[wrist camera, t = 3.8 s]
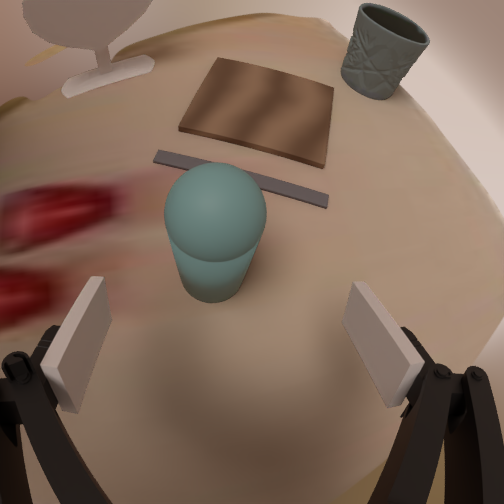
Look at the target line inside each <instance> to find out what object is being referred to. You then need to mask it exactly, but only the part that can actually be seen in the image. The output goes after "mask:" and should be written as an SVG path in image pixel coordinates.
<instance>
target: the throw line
mask: <svg viewBox="0 0 504 504" xmlns="http://www.w3.org/2000/svg"><path fill="white" fill-rule="evenodd" d="M153 163H158V164H162V165H167V166H171V167H175V168H180V169H184V170H190V169H192V168H194V167H196V166H199V165H202V164H206V163H215V162H211V161H206V160H202V159H198V158H194V157H190V156H185V155H181V154H176V153H172V152H167V151H163V150H158V152H157V154H156V156H155V158H154V160H153ZM241 170H242V169H241ZM243 171H245V172H246V173H247V174H249V175H250V176H251V177H252V178H253V179H254V181H255V182H256V183H257V184H258V186H259V188H260V189H261V190H265V191H268V192H272V193H275V194H279V195H282V196H286V197H289V198H293V199H296V200H299V201H303V202H306V203H309V204H313V205H316V206H319V207H322V208H325V209H326V208H327V205H328V197H329V195H327V194H324V193H321V192H318V191H315V190H312V189H308V188H305V187H302V186H298V185H295V184H292V183H288V182H285V181H281V180H278V179H275V178H271V177H267V176H264V175H260V174H257V173H253V172H249V171H246V170H243Z"/></svg>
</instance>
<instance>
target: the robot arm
mask: <svg viewBox="0 0 504 504" xmlns="http://www.w3.org/2000/svg"><path fill="white" fill-rule="evenodd" d="M111 321H112V318H111V313H110V307H109V302H108V296H107V290H106V284H105V278H104V277H98V276H91V277H90V279H89V280H88V282H87V283H86V285H85V287H84V288H83V290H82V291H81V293H80V295H79V296H78V298H77V300H76V301H75V303H74V305H73V306H72V308H71V310H70V311H69V313H68V315H67V316H66V318H65V320H64V322H63V323H62V325H61V326H56V325H53V326H51V327H50V328H49V329H48V330H47V331H45V333H44V335H43V336H42V338H41V341H40V342H39V343H38V346H37V347H36V348H35V350H34V352H33V354H32V356H31V357H29V356H28V354H26V353H24V352H20V351H17V352H12V353H11V354H9V355H7V356H6V357H5V358H4V359H3V362H2V370H3V372H4V374H5V376H6V377H7V378H1V379H0V504H33V502H32V498H31V494H30V489H29V485H28V480H27V474H26V469H25V463H24V456H23V449H22V442H21V433H20V424H23V425H24V427H25V430H26V433H27V435H28V438H29V440H30V442H31V445H32V447H33V450H34V452H35V454H36V456H37V459H38V461H39V463H40V465H41V467H42V469H43V471H44V473H45V475H46V477H47V479H48V481H49V483H50V485H51V487H52V489H53V491H54V493H55V494H56V496H57V498H58V500H59V502H60V503H61V504H112V502H111V501H110V500H109V498H108V497H107V495H106V494H105V493H104V491H103V490H102V488H101V487H100V485H99V484H98V482H97V481H96V479H95V478H94V476H93V475H92V473H91V472H90V470H89V469H88V467H87V466H86V464H85V462H84V461H83V459H82V457H81V456H80V454H79V452H78V451H77V449H76V447H75V445H74V444H73V442H72V440H71V438H70V436H69V435H68V433H67V431H66V429H65V427H64V425H63V423H62V421H61V419H60V417H59V415H58V413H57V412H56V410H55V409H56V407H57V404H58V403H59V405H60V407H61V409H62V411H66V412H71V413H77V414H78V413H79V410H80V407H81V404H82V400H83V397H84V394H85V391H86V388H87V385H88V383H89V380H90V377H91V374H92V371H93V368H94V366H95V363H96V360H97V357H98V355H99V352H100V349H101V347H102V344H103V341H104V339H105V336H106V334H107V331H108V329H109V326H110V324H111ZM342 324H343V325H344V327H345V329H346V331H347V333H348V335H349V336H350V338H351V340H352V342H353V344H354V346H355V348H356V349H357V351H358V353H359V355H360V357H361V359H362V361H363V363H364V364H365V366H366V368H367V370H368V372H369V374H370V376H371V378H372V380H373V382H374V384H375V386H376V387H377V389H378V391H379V393H380V395H381V397H382V399H383V401H384V403H385V405H386V407H387V408H390V407H394V406H399V405H401V404H402V402H403V401H404V399H405V397H407V399H408V401H409V404H408V405H407V407H406V408H405V410H404V412H403V413H402V415H401V416H400V417H401V418H402V417H403V419H402V422H401V425H400V427H399V430H398V433H397V436H396V439H395V441H394V444H393V447H392V449H391V452H390V454H389V457H388V459H387V462H386V464H385V466H384V469H383V471H382V473H381V476H380V478H379V480H378V482H377V485H376V487H375V489H374V491H373V493H372V496H371V497H370V500H369V502H368V503H367V504H426V502H427V499H428V496H429V493H430V489H431V486H432V483H433V479H434V476H435V472H436V468H437V464H438V460H439V456H440V452H441V448H442V444H443V439H444V451H445V499H444V500H445V501H444V504H504V444H503V439H502V434H501V428H500V423H499V419H498V414H497V410H496V405H495V402H494V397H493V394H492V390H491V386H490V383H489V379H488V376H487V374H486V372H485V371H484V370H483V369H481V368H479V367H476V366H470V367H468V368H467V370H466V371H465V373H464V374H455V373H452V371H451V370H450V369H449V368H448V367H447V366H445V365H443V364H435V362H434V361H433V360H432V358H431V357H430V356H429V354H428V353H427V352H426V350H425V349H424V347H423V346H421V343H420V342H419V341H417V338H416V337H415V335H414V334H413V333H412V332H411V331H410V330H408V329H407V328H405V327H399V326H398V324H397V323H396V321H395V320H394V319H393V317H392V316H391V315H390V313H389V312H388V311H387V310H386V308H385V307H384V306H383V304H382V303H381V302H380V300H379V299H378V298H377V296H376V295H375V294H374V293H373V291H372V290H371V289H370V287H369V286H368V285H367V284H366V282H352V286H351V290H350V294H349V298H348V302H347V305H346V309H345V313H344V316H343V320H342Z"/></svg>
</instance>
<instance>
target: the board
mask: <svg viewBox="0 0 504 504" xmlns="http://www.w3.org/2000/svg"><path fill="white" fill-rule="evenodd" d="M333 91H334V88H333V87H330V86H327V85H324V84H321V83H318V82H315V81H312V80H308V79H305V78H302V77H298V76H295V75H292V74H288V73H284V72H281V71H277V70H273V69H269V68H265V67H261V66H257V65H253V64H248V63H244V62H239V61H234V60H229V59H224V58H219V57H218V58H217V59H216V61H215V63H214V64H213V66H212V68H211V69H210V71H209V73H208V74H207V76H206V78H205V79H204V81H203V83H202V84H201V86H200V88H199V90H198V91H197V93H196V95H195V97H194V98H193V100H192V102H191V104H190V106H189V107H188V109H187V111H186V113H185V115H184V117H183V118H182V120H181V122H180V124H179V126H178V127H179V131H181V132H186V133H191V134H195V135H200V136H204V137H209V138H213V139H217V140H221V141H225V142H230V143H234V144H237V145H241V146H245V147H249V148H253V149H257V150H260V151H264V152H268V153H271V154H275V155H278V156H282V157H285V158H288V159H292V160H295V161H298V162H302V163H305V164H308V165H311V166H315V167H318V168H321V169H323V167H324V165H325V159H326V151H327V144H328V136H329V128H330V119H331V110H332V101H333Z"/></svg>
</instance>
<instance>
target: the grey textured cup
mask: <svg viewBox="0 0 504 504" xmlns="http://www.w3.org/2000/svg"><path fill="white" fill-rule="evenodd" d="M429 43H430V40H429V37H428V35H427V34H426V33H425V32H424V30H423V29H422V28H421V27H420V26H418V25H417V24H416V23H414V22H413V21H412V20H410V19H409V18H407V17H406V16H404V15H402V14H400V13H399V12H396V11H394V10H392V9H390V8H387V7H384V6H381V5H377V4H372V3H364V4H362V5H361V6H360V7H359V10H358V14H357V18H356V21H355V25H354V28H353V36H351V39H350V42H349V46H348V49H347V52H348V53H347V54H346V57H345V58H344V61H343V65H342V68H341V75H342V78H343V79H344V81H345V82H346V83H347V84H348V85H349V86H350V87H351V88H352V89H354V90H355V91H357V92H358V93H360V94H362V95H364V96H366V97H368V98H372V99H377V100H383V99H387V98H389V97H390V96H391V95H392V93H393V92H394V90H395V89H396V88H397V86H398V85H399V83H400V81H401V80H402V78H403V77H405V75H406V74H407V73H408V71H409V69H410V68H411V66H412V65H413V64H414V63H415V62H416V60H417V59H418V57H419V56H420V55H421V54H422V52H423V51H424V50H425V49H426V47H427V46H428V45H429Z"/></svg>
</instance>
